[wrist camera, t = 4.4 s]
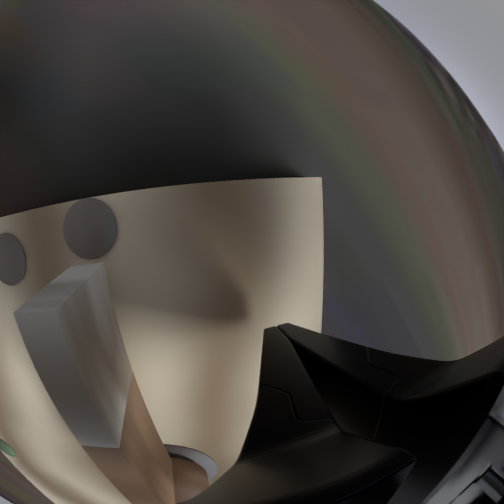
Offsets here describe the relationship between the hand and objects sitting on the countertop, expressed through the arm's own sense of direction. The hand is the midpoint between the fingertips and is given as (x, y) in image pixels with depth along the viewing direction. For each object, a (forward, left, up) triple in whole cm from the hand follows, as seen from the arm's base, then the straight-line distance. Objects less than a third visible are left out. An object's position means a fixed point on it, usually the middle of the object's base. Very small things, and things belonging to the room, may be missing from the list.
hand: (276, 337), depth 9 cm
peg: (+6, +4, -1) cm, 7 cm away
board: (+9, +7, -2) cm, 11 cm away
